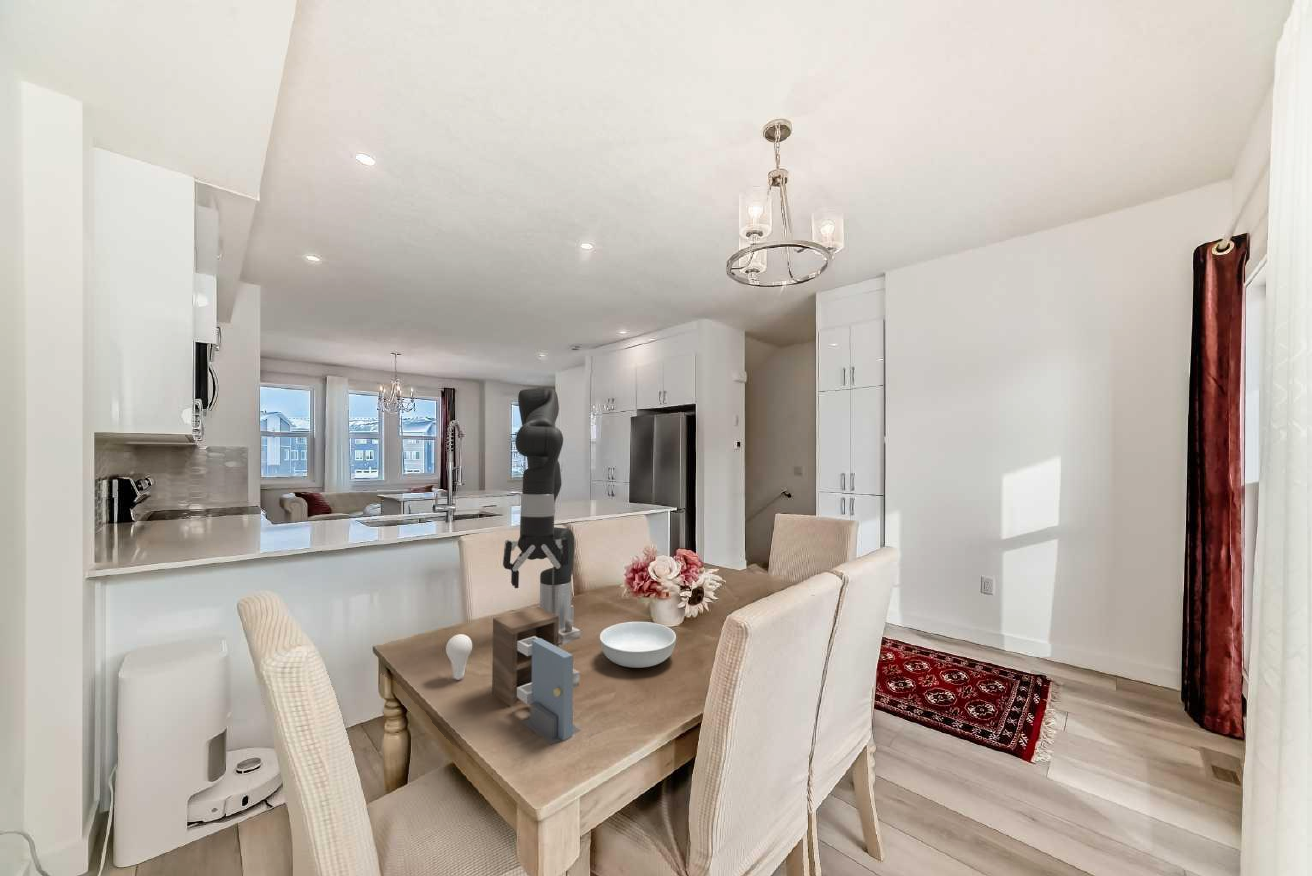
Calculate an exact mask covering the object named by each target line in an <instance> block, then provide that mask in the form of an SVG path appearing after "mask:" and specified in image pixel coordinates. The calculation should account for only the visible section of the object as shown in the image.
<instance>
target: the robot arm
mask: <svg viewBox="0 0 1312 876" xmlns="http://www.w3.org/2000/svg"><path fill="white" fill-rule="evenodd" d="M517 403H518V409H519V415H520V417H519V418H520V422H521V426H520V427H519V429H518V431H517V434H516V436H515V442H514V444H515V448H516V451H517V452H518V453H519V454H520V455H521V456H523V457H526V463H527V468H526V469H525V470H524V471H523V473H522V490H521V491H522V492H521V493H522V494H521V495H522V496H521V501H520V516H519V517H520V519H519V520H520V521H519V522H520V523H519V529H520V530H519V538H518V540H516V541H515V540H514V541H513V540H509V539H508V540H505V542H504V547H503V549H504V550H503V561H502V566H503V568H504V569H505V570H510V571H511V572H510V573H511V575H510V578H511V579H510V583H511V585H512V586H513V588H514V589H519V585H520V584H519V583H520V581H519V580H520V571H519V569H520V568H521V567H522V565H523V564H525V561H526V560H527V559H528V560H530V561H531V560H532V561H533V560H537V559H539V560H544V559H548V560H549V562H550V563H551V564H552V567H551V568H546V569H544V570H542V571H541V573H540V575H539V608H542V609H544V610H546V611H548V612H551V613H553V614H555V615H557V616H559V629H563V628H565V620H567V619H571V620H572V627H574V626H575V625H574V623H575V621H574V619H575V615H574V613H575V609H574V605H573V604H572V575H573V572H574V571H573V569H574V561H575V560H574V557H575V556H574V555H575V545H576V544H575V536H574V535H575V534H574V533H573V531H572V530H571V529H570V528H566V527H556V526H555V513H556V509H555V507H556V506H555V501H556V500H557V497H558V496H559V494H560V491H561V487H562V484H563V483H562V474H561V472H562V471H561V464H560V462H559V457H560V454H561V451H562V448H563V446H564V445H563V444H564V436H563V433H562V431H561V430H560V429H559V428H558V427H555V422H556V421H557V418H558V416H559V410H560V407H559V405H560V403H559V397H558V394H557V392H556V390H555V388H552V387H537V388H536V387H535V388H526V389H525V388H524V389H521V390H520V391H519V392H518V395H517ZM516 547H518V549H519V550H520V553H519V554H518V555H517V557H516V559H515V560H514V562H511V557H512V552H513V551H515V550H516V549H515V548H516ZM574 628H575V627H574ZM559 644H561V643H560V642H558V645H559Z"/></svg>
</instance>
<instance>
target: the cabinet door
mask: <svg viewBox="0 0 1312 876" xmlns="http://www.w3.org/2000/svg"><path fill="white" fill-rule="evenodd" d="M517 651H519V652H521V653H523V654H524V655H526V656H530V655H532V682H531V683H528V684H526V685H523V686H520V687H517V697H518V698H519V699H520V700H522V701H523V703H524V704H526V705H528V704H529V705H530V703H532V702H537V703H538V704H540V705H541V706H543V707H544V708H545V709H547V710H548V711H550V712H551V713H553V714H554V715H556V716H557V736H558V737H560V738H561V739H562V740H561V741H565V740H568V739H570V738H572V737H573V735H572V709H573V694H574V693H573V692H574V691H573V689H574V687H573V669H574V654H572V653H570V652H568V651H566V650H564V649H563V648H560V647H559V646H558V647H557V646H555V645H553V644H551V643H549V642H547V641H545V640H543V639H541V638H537V637H535V636H533V637H530V638H526V639H523V640H520V641H517Z"/></svg>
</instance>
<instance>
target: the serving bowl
mask: <svg viewBox="0 0 1312 876" xmlns="http://www.w3.org/2000/svg"><path fill="white" fill-rule="evenodd" d="M676 642H677V634H676V633H675V631H674V630H673V629H672V628H670V627H668V626H666V625H663V624H659V623H656V622H651V621H628V622H627V621H626V622H622V623H621V622H620V623H616V624H614V625H610V626H608V627H607V628H604V629H603V630H602V631H601V632H600V634H599V644H600V648H601V650H602V652H603V654H604V656H606V658H607V659H609V661H611V662H613V663H614V664H617V665H619V666H622V667H625V668H632V669H633V668H635V669H636V668H637V669H638V668H639V669H641V668H650V667H654V666H656V665H659V664H661V663H662V662H664V661H666V660H667V659H668V658H669V657H670V656H671V654H672V653H673V651H674V649H675V646H676Z"/></svg>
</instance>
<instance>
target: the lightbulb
mask: <svg viewBox="0 0 1312 876" xmlns="http://www.w3.org/2000/svg"><path fill="white" fill-rule="evenodd" d="M472 650H473V642H472V640H471V637H469V636H468V635H466V634H463V633H461V634H460V633H458V634H455V635H454V636H452V637H450V639H449V640H448V641H447V644H446V645H445V653H446V655H447V657H448V658H449V661H450V663H451V669H452V673H453V674H452V677H453V679H455V680H456V681H461V680H462V679H463V678H464V677H465V672H466V671H465V669H466V667H467V661H468V658H469V657H470V654H471V653H472Z"/></svg>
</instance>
